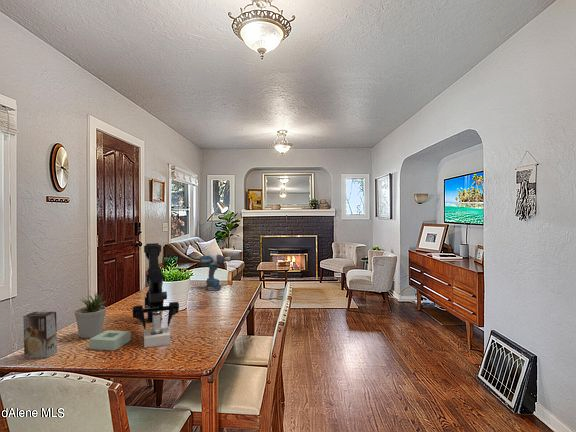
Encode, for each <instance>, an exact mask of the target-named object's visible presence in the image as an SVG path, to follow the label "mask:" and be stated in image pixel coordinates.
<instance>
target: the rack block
mask: <svg viewBox="0 0 576 432" xmlns="http://www.w3.org/2000/svg"><path fill="white" fill-rule="evenodd" d="M131 334H132V333H131V331H130V330H114V329H113V330H112V329H111V330H110V329H109V330H108V329H106V330H103V331H102V333H100V334H98V335H97V336H95V337H92V338H88V339H89V340H88V341H89V350H99V351H114V350H115V351H116V350H118V349H119V348H121V347H123V346H124V345H126V344H127V343H129V342H131Z"/></svg>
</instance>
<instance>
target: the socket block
mask: <svg viewBox="0 0 576 432" xmlns="http://www.w3.org/2000/svg"><path fill="white" fill-rule="evenodd" d="M170 333H171V332H170V329H169V327H161V334H156V335H152V329H144V330H143V340H144V341H143V348H144V349H146V348H147V347H148V348H152V347H153V348H154V347H160V346H168V345H171V334H170Z"/></svg>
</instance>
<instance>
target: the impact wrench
mask: <svg viewBox="0 0 576 432" xmlns="http://www.w3.org/2000/svg"><path fill="white" fill-rule="evenodd" d="M198 261H199V264H200V267H202V268H208V278H206V282H205V283H206V286H205V287H206V291H208V292H209V291H210V292H217V291H220V290H221V289H222V284H221V283H220V279H218V278H215V276H214V275H215V273H216V271H217V270H218V267H219V266H220V265H222V264H224V263H225V262H228V263H229V262H231V261H232V257H231V256H226V257H225V256H224V255H222V254H220V253H219V254H207V255H202V256H200V257H199V260H198Z"/></svg>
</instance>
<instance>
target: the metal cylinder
mask: <svg viewBox="0 0 576 432" xmlns="http://www.w3.org/2000/svg"><path fill="white" fill-rule="evenodd" d="M161 318H162V311H160V310H157V311H153V312H152V322H151V323H152V327H151V330H152V335H156V334H161V328H162V319H161Z"/></svg>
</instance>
